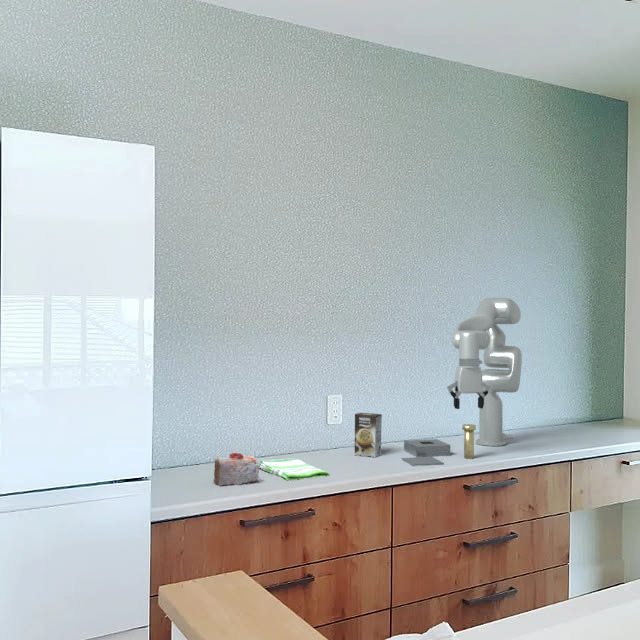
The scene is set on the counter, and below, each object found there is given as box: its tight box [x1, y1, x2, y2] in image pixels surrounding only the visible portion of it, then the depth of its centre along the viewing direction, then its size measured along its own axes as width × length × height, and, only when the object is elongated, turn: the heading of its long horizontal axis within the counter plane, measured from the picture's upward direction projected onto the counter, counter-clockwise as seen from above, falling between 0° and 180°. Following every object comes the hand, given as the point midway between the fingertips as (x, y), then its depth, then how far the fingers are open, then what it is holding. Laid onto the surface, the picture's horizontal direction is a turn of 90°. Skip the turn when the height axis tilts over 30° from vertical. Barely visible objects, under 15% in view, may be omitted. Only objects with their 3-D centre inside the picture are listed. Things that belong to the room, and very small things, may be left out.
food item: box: [213, 452, 260, 487], centre depth 231 cm, size 14×8×10 cm, turn 115°
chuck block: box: [403, 438, 451, 457], centre depth 282 cm, size 14×14×4 cm
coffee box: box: [354, 412, 383, 458], centre depth 277 cm, size 9×6×16 cm
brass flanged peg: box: [461, 423, 477, 460], centre depth 272 cm, size 5×5×12 cm
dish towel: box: [258, 457, 330, 482], centre depth 247 cm, size 17×23×4 cm
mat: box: [401, 456, 445, 466], centre depth 264 cm, size 12×12×1 cm
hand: (468, 408), depth 271 cm, fingers open, 9 cm apart
